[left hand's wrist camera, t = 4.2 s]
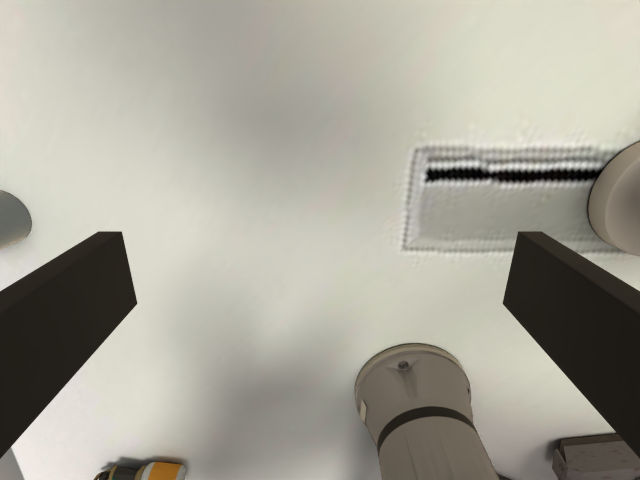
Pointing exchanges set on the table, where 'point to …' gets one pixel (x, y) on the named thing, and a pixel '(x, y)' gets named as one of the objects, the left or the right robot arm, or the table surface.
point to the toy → (596, 459)
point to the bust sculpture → (618, 202)
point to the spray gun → (145, 472)
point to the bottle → (12, 220)
